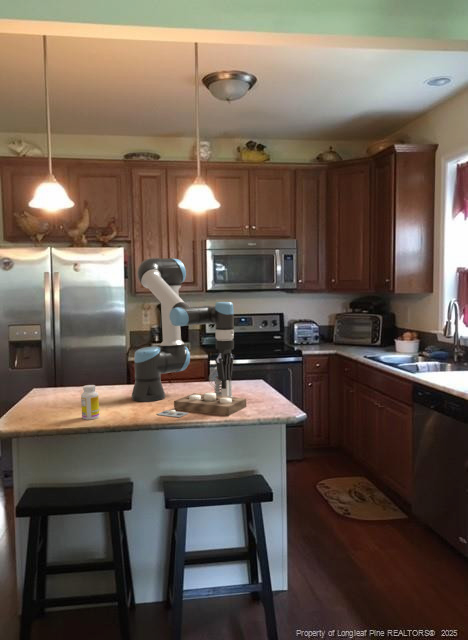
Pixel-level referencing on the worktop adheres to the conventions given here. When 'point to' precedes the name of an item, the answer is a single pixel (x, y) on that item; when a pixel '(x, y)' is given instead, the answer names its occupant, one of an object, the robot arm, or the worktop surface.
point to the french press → (218, 383)
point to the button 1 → (195, 397)
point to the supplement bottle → (89, 403)
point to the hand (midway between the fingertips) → (225, 395)
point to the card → (172, 413)
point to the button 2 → (210, 397)
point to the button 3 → (226, 400)
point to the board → (210, 405)
